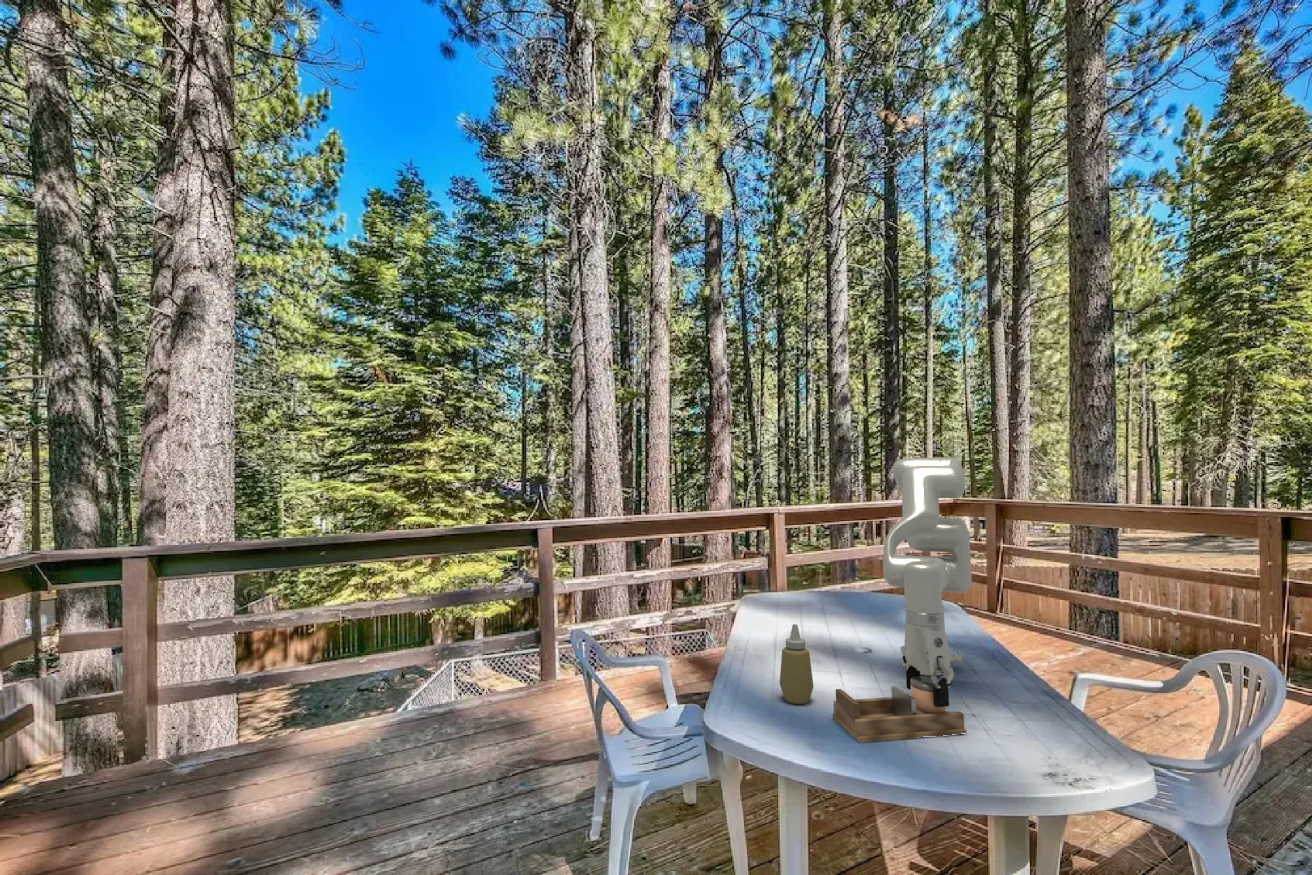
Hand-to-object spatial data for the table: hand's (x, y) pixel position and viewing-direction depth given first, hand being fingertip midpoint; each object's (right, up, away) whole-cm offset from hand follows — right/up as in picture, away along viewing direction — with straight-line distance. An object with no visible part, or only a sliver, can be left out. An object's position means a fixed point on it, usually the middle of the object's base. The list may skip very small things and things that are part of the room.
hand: (927, 697), depth 123 cm
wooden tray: (-6, -6, -2) cm, 9 cm away
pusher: (-5, -4, -1) cm, 6 cm away
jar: (0, -5, 0) cm, 5 cm away
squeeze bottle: (-26, -7, +13) cm, 29 cm away
